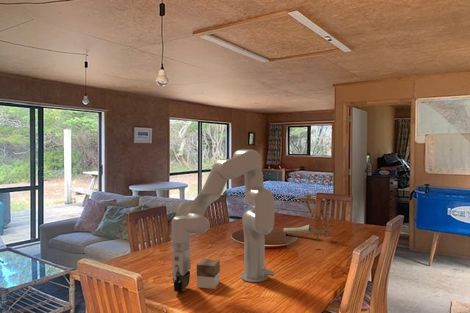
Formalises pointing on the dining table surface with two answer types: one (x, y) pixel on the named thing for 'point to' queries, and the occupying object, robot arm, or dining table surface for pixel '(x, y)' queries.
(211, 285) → the cream block
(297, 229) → the flower vase
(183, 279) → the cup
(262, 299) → the dining table surface
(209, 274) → the walnut block
